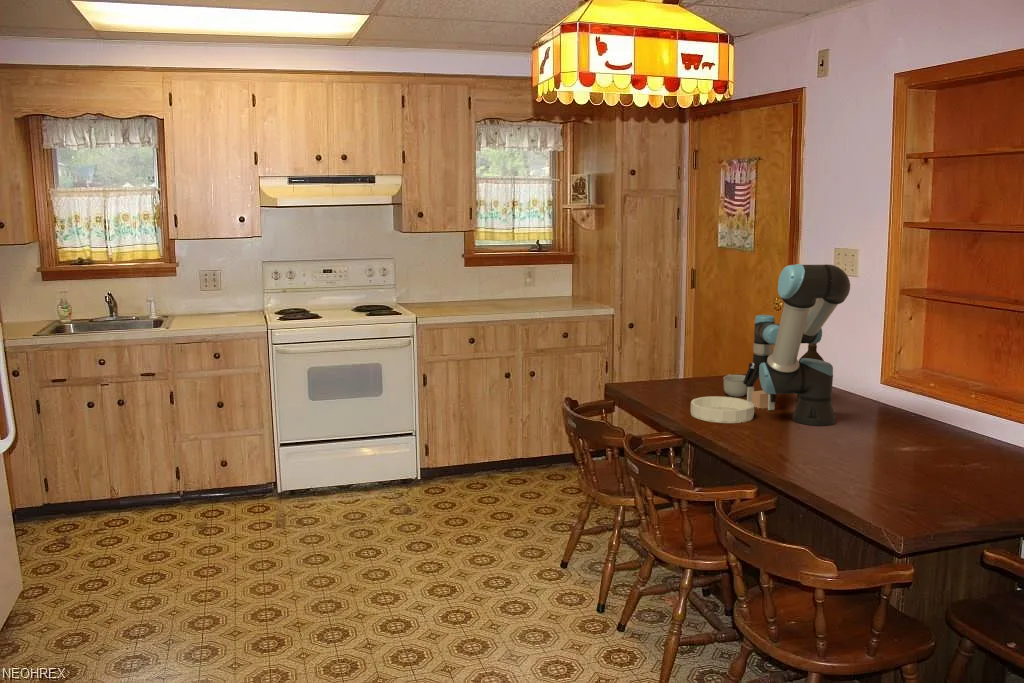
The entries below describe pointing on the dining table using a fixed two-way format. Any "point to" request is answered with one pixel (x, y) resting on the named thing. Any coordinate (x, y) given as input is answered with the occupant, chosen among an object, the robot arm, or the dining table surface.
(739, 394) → the teacup
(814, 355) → the olive oil
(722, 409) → the bowl
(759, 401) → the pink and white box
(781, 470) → the dining table surface
